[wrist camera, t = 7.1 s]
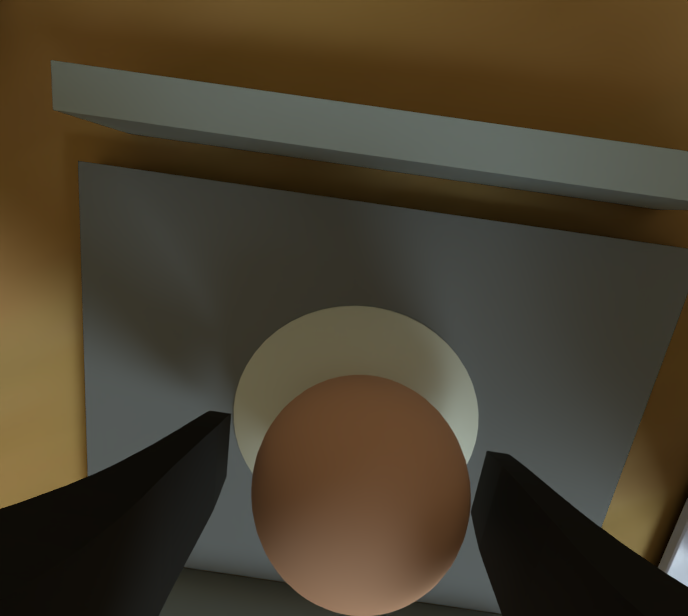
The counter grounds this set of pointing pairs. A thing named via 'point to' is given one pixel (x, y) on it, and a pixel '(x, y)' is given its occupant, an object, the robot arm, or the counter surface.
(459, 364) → the mat
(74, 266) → the counter surface
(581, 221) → the counter surface
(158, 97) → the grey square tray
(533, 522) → the robot arm
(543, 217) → the counter surface
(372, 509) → the ball
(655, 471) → the counter surface
